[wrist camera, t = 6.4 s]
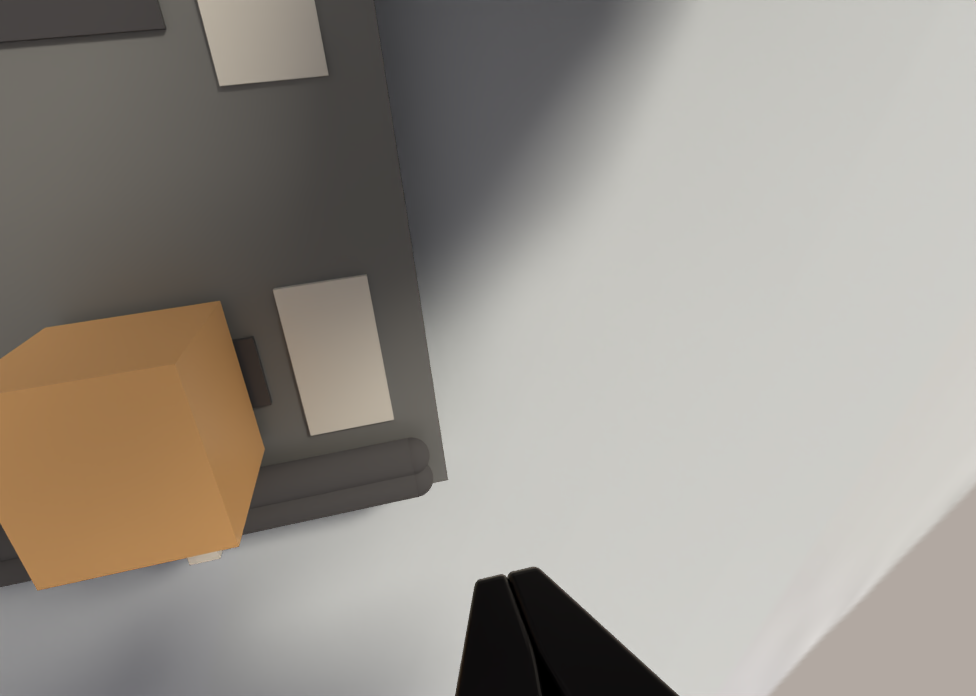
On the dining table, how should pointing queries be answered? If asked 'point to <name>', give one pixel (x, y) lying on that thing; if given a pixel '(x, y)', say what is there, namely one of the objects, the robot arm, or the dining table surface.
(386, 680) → the dining table surface
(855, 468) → the dining table surface
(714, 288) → the dining table surface
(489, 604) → the robot arm
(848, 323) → the dining table surface
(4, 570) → the cord bundle
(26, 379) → the block
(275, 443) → the breaker panel
